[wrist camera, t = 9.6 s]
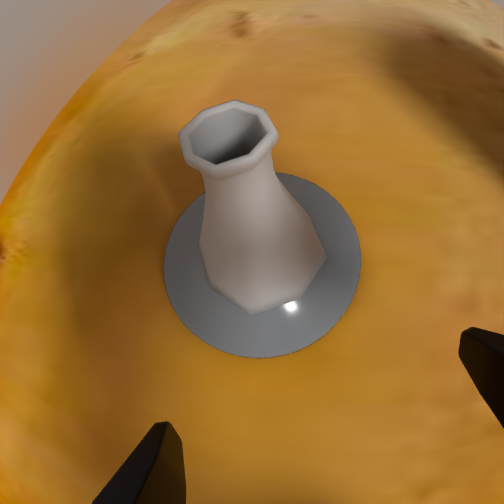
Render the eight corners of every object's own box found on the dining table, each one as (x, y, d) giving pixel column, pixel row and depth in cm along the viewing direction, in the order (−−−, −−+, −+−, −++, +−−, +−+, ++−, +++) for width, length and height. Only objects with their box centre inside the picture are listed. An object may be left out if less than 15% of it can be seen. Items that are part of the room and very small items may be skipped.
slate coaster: (375, 341, 17) (379, 338, 16) (172, 365, 18) (165, 364, 17) (335, 170, 22) (336, 161, 21) (171, 196, 23) (166, 189, 22)
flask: (181, 245, 20) (100, 139, 11) (273, 181, 21) (251, 51, 12) (247, 339, 17) (183, 283, 8) (348, 261, 18) (386, 140, 9)
